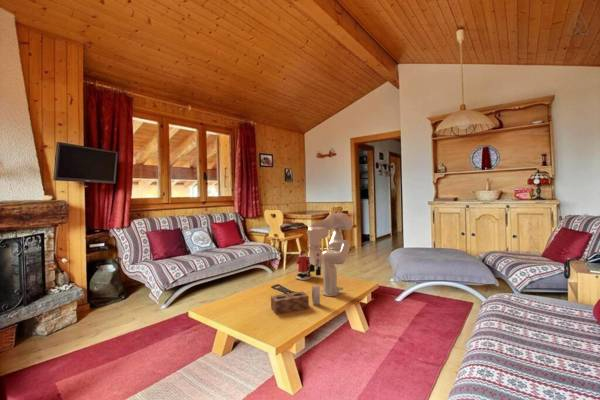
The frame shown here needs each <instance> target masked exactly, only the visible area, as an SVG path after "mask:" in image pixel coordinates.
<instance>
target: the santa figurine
mask: <svg viewBox="0 0 600 400" xmlns="http://www.w3.org/2000/svg"><path fill="white" fill-rule="evenodd" d="M306 255H307V254H306V251H305V250H304V249H301V250H300V252H299V255H298V257H297V259H296V261H295V262H296V264H297V265H298V268H297V269H298V270H297V275H296V276H295V279H296V280H298V281H307V280H310V279H311V278H312V277H313V276H312V275H313V274H312V272H310V263H309V262H310V261H309V256H306Z"/></svg>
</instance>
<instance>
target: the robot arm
mask: <svg viewBox="0 0 600 400" xmlns="http://www.w3.org/2000/svg"><path fill="white" fill-rule="evenodd" d="M353 224H354V223H353V219H351V218H350V217H349V216H348V214H346V213H344V212H331V213H329V215H327V217H326V218H324V219H321V220H319V221H315V222H313V223H312V224H310V226H309V227H308V229H307V231H306V233H307V236H308V250H309V256H308V257H309V261H310V262H309V263H310V273H315V276H317V277H318V276H321V275H323V290H321V295H322V296H326V297H336V296H339V294H340V291H342V290H344V287H343V286H341V287H340V286H338V276H337V275H338V271H337V266H336V265H344V264H345V263H346V261H347V257H348V255H349V252H350V249H351V248H350V247H351V245H350V242H349V241H348V240H347V239H344V236H343V235H344V234H342V232H341V231H340V230H347V231H349V230H350V231H351V230H352V229H353V227H354V225H353ZM330 230H331V237H330V239H329V241H328V242H329V243H328V246H327V249H326V250H323V251H322V252H321V239H326V238H327V237H328V236H329V231H330ZM322 267H323V274H322V271H321V270H322Z"/></svg>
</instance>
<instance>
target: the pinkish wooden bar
mask: <svg viewBox="0 0 600 400" xmlns="http://www.w3.org/2000/svg"><path fill="white" fill-rule="evenodd" d="M320 291H321V289H320V286H319V285H314V286H311V294H312V297H311V298H312V306H313V307H314V306H319V305H321V296H320Z"/></svg>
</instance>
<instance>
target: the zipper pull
mask: <svg viewBox="0 0 600 400" xmlns="http://www.w3.org/2000/svg"><path fill="white" fill-rule="evenodd" d="M270 288H271V289H273V290H275V291H278V292H280V293H283V294H288V293H295V292H296V291H295V290H294V291H293V290H290V289H288V288H287V287H285V286H284V285H281V284H280V283H277V284H274V285H272V286H270Z"/></svg>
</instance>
